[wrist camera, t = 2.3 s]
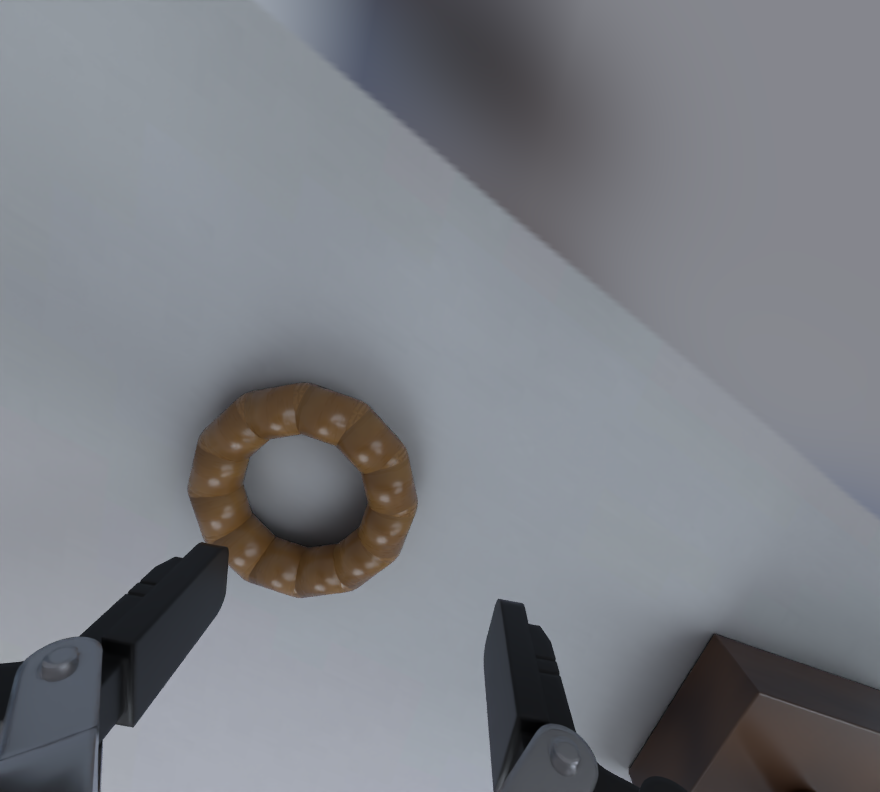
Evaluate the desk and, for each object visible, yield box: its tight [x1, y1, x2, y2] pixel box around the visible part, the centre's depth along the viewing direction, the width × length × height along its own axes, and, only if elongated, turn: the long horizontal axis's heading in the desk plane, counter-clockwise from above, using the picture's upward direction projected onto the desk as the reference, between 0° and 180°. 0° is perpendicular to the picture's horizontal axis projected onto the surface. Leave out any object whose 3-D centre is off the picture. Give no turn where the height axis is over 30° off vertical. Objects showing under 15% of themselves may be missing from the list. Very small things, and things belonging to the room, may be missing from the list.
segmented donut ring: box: [188, 382, 418, 598], centre depth 18 cm, size 9×9×2 cm
